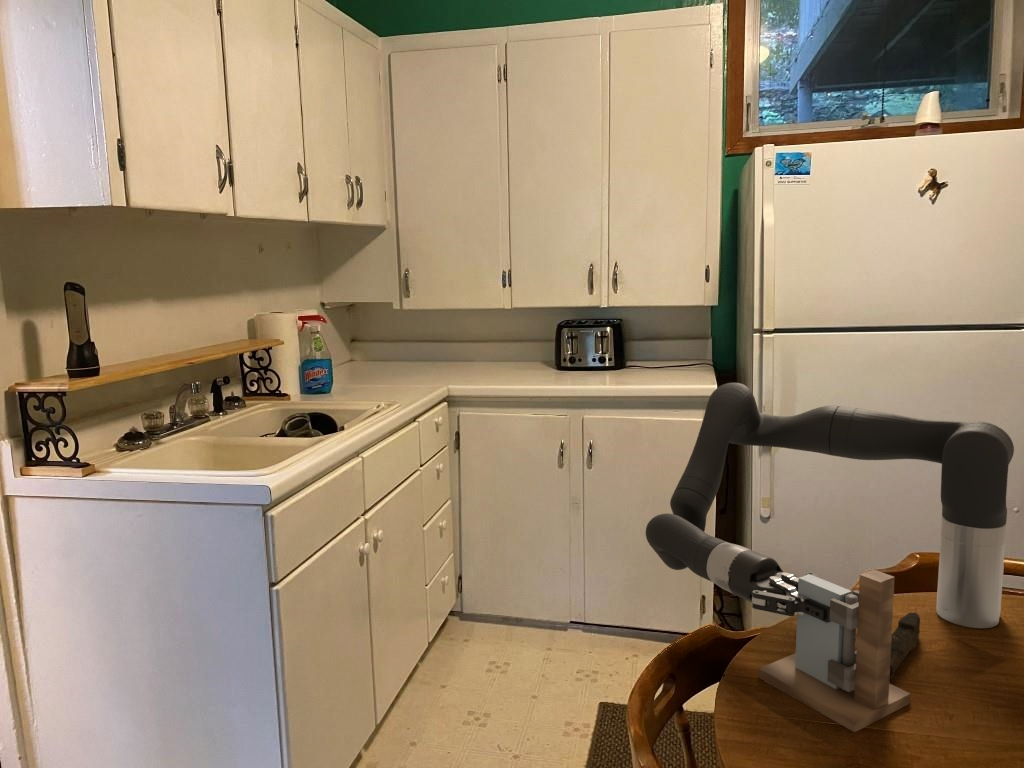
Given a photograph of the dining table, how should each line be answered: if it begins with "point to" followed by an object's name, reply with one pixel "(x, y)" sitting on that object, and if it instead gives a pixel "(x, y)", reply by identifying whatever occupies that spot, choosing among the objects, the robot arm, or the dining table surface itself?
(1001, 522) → the robot arm
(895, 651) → the hand tool
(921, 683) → the dining table surface
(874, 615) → the hinge frame
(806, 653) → the cabinet door
